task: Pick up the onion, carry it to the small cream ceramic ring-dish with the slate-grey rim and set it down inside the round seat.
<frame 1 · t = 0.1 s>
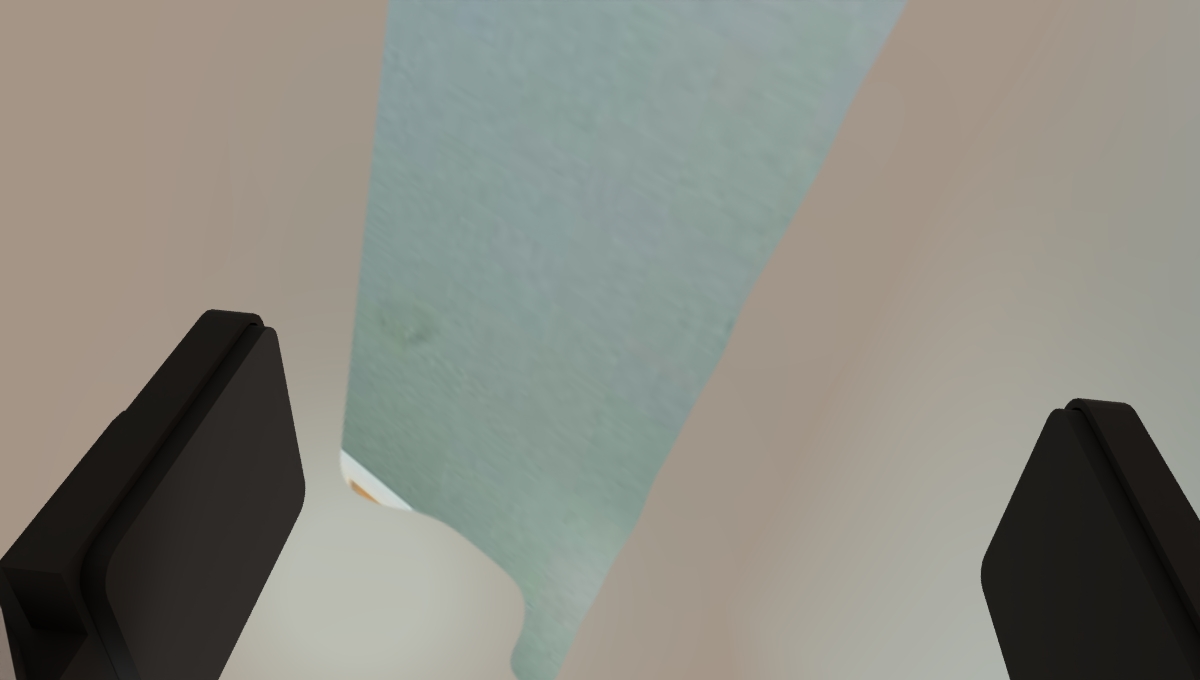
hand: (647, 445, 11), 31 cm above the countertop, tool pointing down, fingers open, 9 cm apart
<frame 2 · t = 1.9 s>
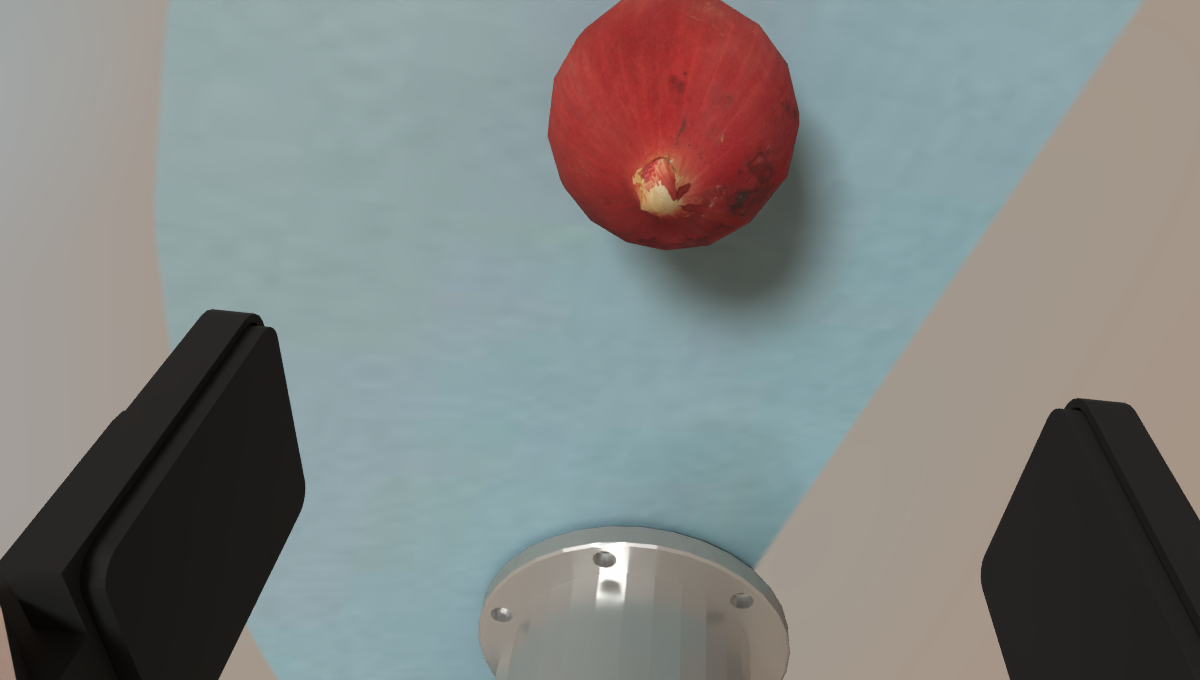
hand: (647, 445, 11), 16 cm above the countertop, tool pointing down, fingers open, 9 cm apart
onion: (676, 70, 25), on the countertop
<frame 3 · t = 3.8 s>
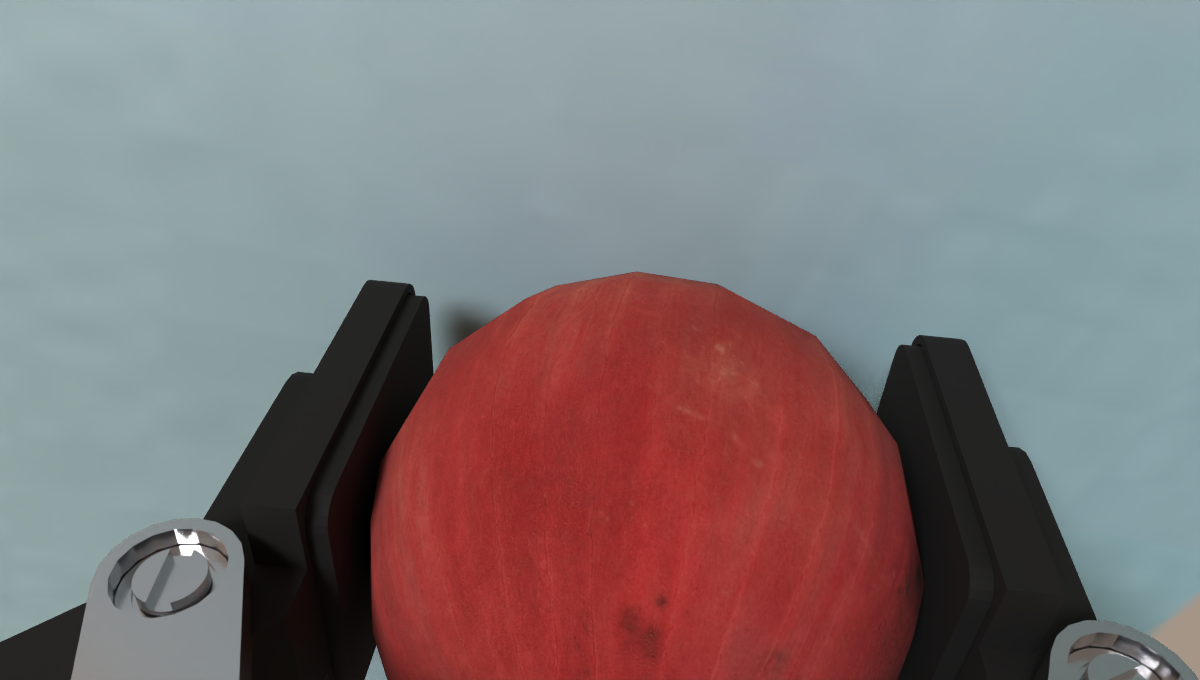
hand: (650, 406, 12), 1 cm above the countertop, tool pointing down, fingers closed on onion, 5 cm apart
onion: (656, 337, 13), on the countertop, touching gripper
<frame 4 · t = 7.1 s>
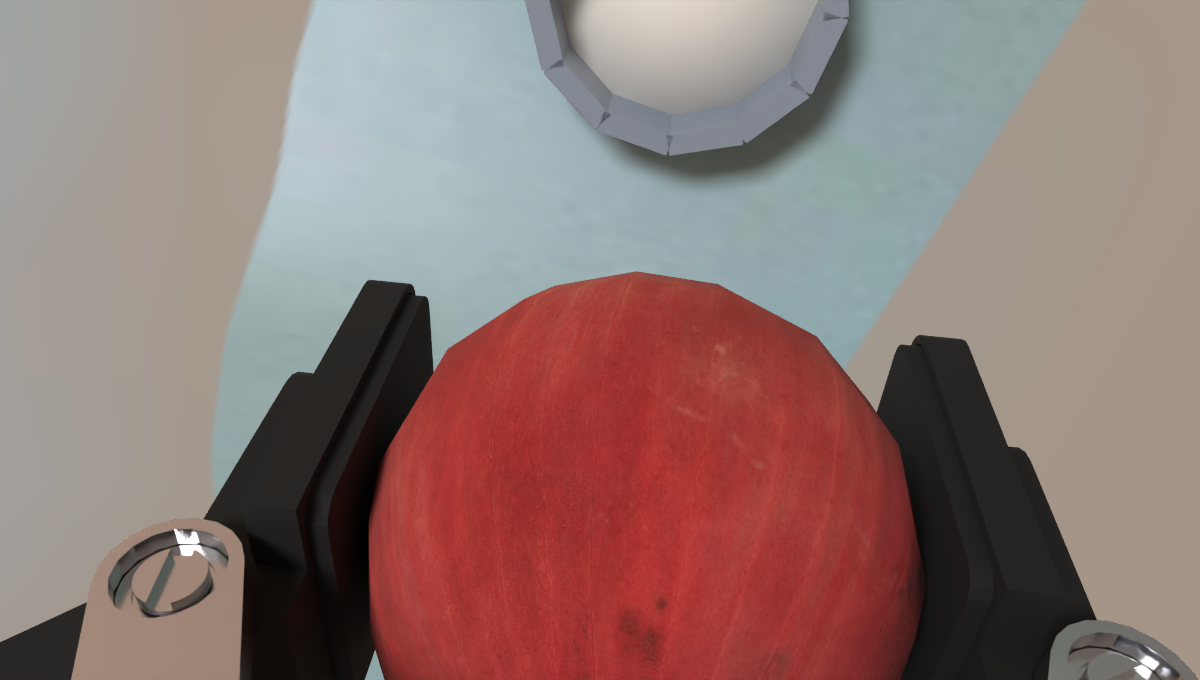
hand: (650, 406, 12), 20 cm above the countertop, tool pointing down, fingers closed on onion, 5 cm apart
onion: (656, 337, 13), point 18 cm above the countertop, touching gripper
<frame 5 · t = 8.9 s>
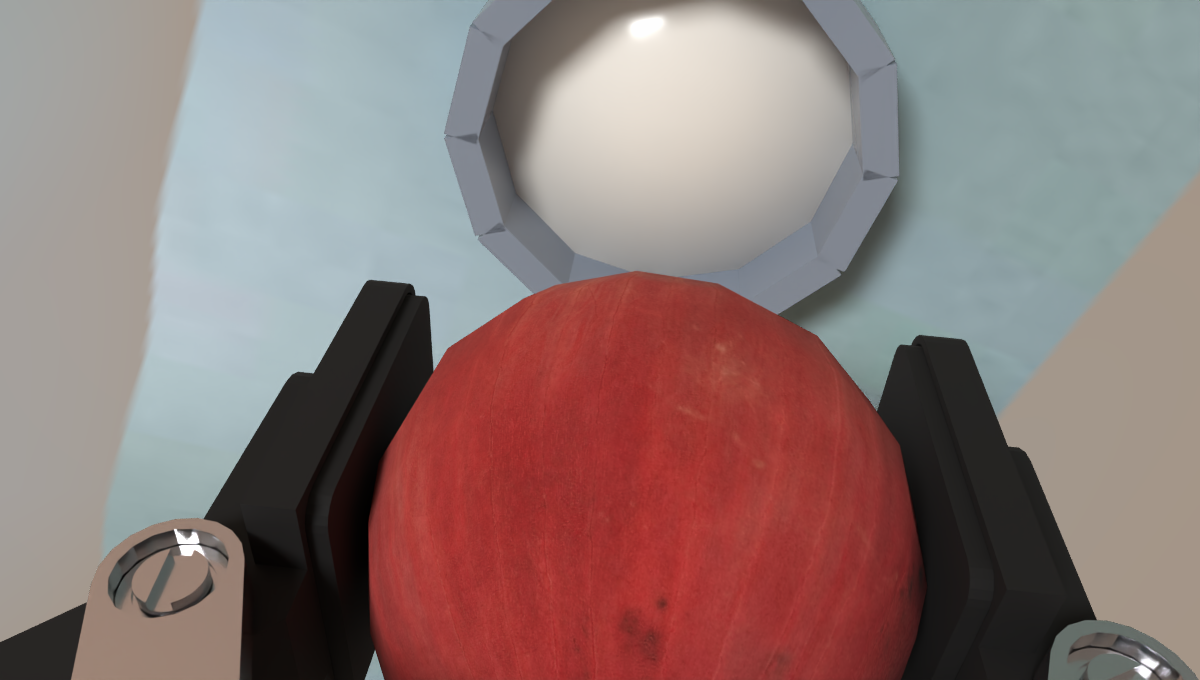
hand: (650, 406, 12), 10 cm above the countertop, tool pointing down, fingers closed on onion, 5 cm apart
onion: (656, 337, 13), point 9 cm above the countertop, touching gripper
seat dish: (672, 116, 20), on the countertop
when the fingers open (4 cm above the countertop, at t = 10.6 s): onion drops 2 cm, resting on seat dish.
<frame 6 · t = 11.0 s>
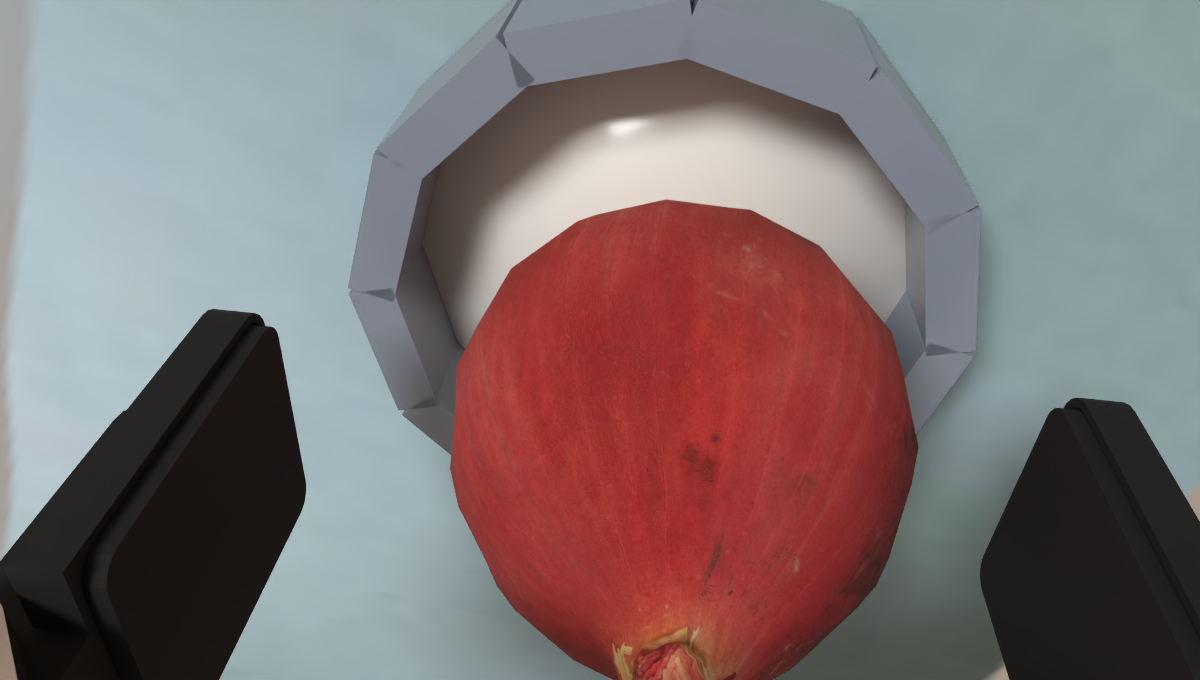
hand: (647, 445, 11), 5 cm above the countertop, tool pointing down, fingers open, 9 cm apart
onion: (673, 271, 15), resting on seat dish
seat dish: (662, 247, 15), on the countertop
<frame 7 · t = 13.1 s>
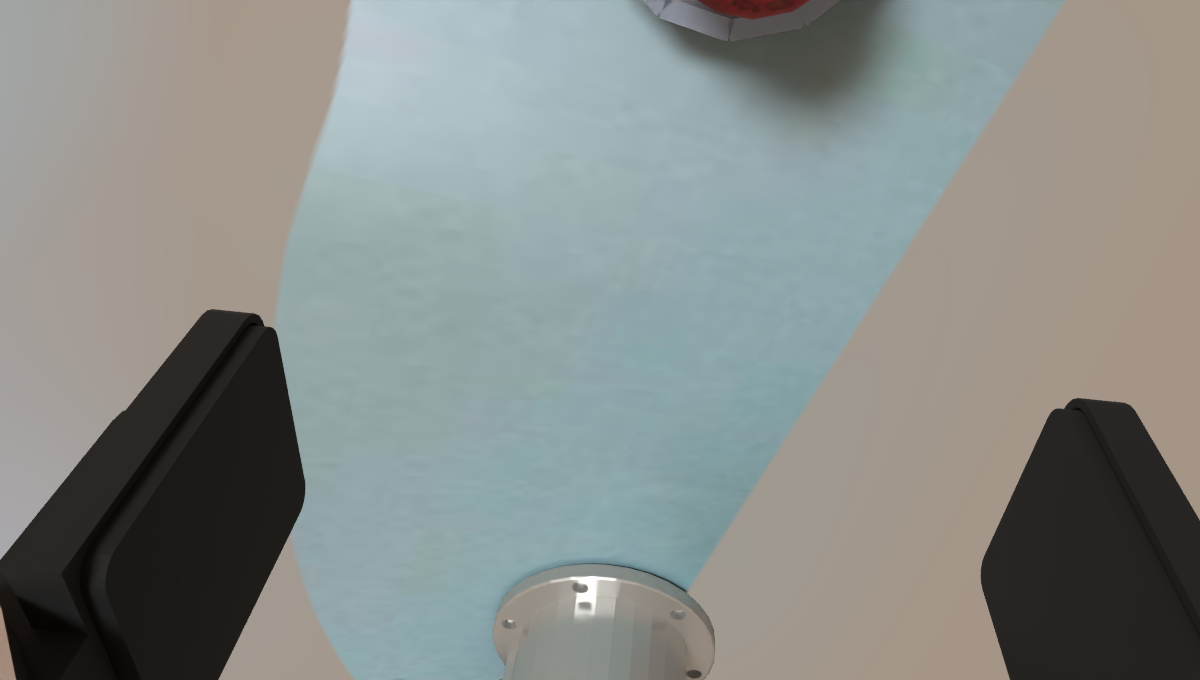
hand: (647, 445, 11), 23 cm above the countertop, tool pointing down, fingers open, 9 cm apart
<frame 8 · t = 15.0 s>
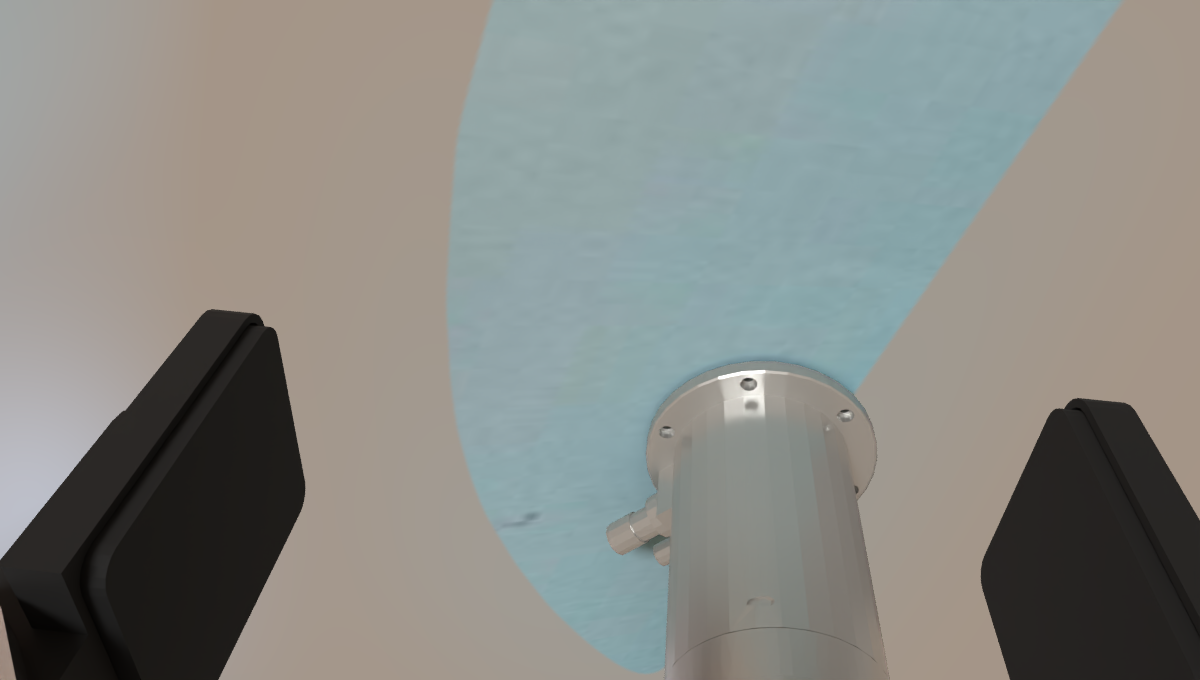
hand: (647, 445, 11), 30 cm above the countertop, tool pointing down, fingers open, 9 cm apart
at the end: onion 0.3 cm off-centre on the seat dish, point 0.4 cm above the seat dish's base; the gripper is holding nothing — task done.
